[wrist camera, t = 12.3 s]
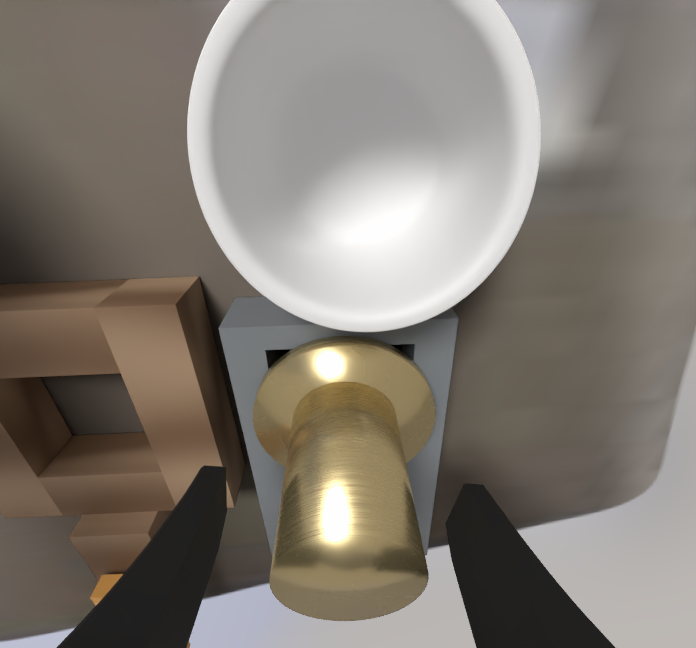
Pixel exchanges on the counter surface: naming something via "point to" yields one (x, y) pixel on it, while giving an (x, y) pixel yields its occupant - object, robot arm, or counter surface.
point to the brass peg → (345, 476)
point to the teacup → (364, 152)
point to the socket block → (147, 396)
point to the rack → (291, 331)
